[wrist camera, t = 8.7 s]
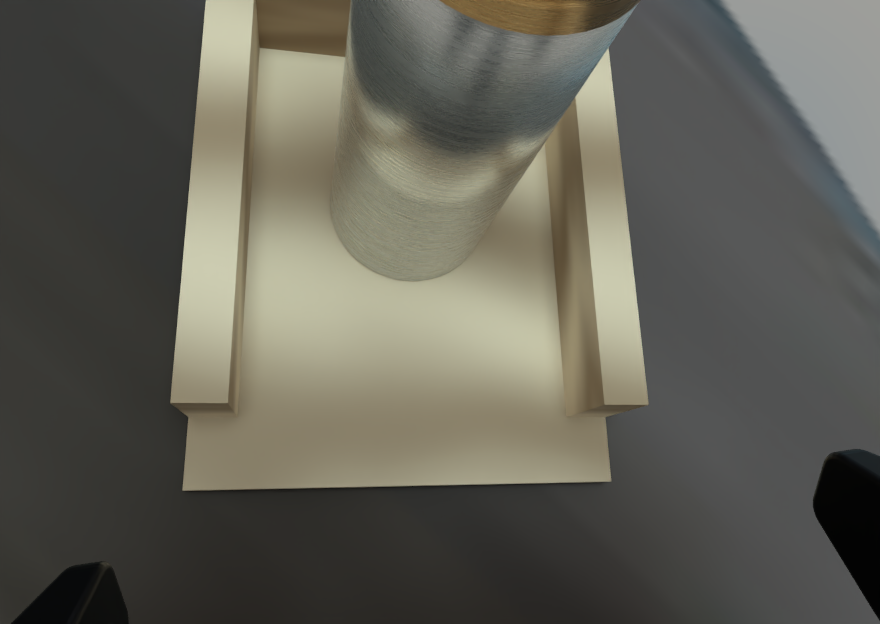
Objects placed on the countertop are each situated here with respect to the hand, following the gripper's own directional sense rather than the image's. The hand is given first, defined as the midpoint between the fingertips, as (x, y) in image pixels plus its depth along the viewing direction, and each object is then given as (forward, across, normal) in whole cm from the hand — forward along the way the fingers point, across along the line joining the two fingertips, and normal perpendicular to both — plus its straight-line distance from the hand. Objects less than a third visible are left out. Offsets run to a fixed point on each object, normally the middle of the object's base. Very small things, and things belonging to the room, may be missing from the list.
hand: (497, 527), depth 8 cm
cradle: (+13, -1, 0) cm, 13 cm away
